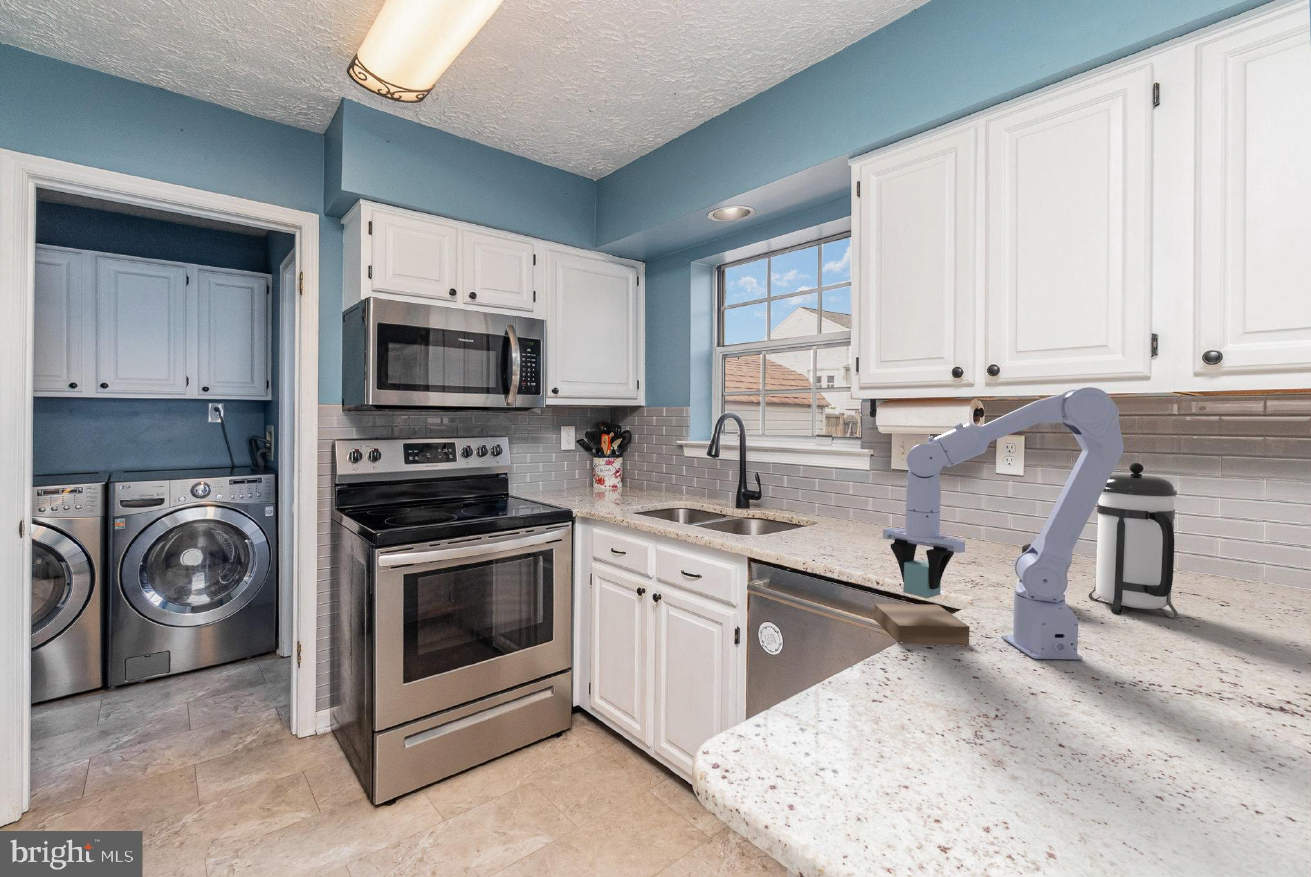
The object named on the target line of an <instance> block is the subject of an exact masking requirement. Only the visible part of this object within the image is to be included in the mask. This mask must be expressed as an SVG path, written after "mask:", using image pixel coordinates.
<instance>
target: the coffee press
mask: <svg viewBox="0 0 1311 877" xmlns="http://www.w3.org/2000/svg"><path fill="white" fill-rule="evenodd" d="M1128 468H1129V471H1130V472H1131V473H1130V474H1111V476H1110V478H1109V480H1108V482H1107V484H1106V486H1105V488H1104V490H1103V492H1102V494H1101V496H1100V498H1099V499H1098V502H1097V503H1096V512H1097V533H1096V535H1097V536H1096V554H1095V555H1096V556H1095V557H1096V558H1095V559H1096V562H1095V579H1094V580H1095V583H1094V588H1093V589H1092V591H1091V592H1089V594H1088V599H1089V600H1091V601H1095V600H1099V599H1102V600H1104V601H1106V602H1109V603H1111V609H1110V610H1111V614H1117V615H1122V613H1123V611H1124V609H1125V608H1126V607H1128V608H1134V609H1135V608H1136V609H1145V610H1158V611H1160V612H1161V613H1162V614H1164V615H1165V617H1167V618H1168V619H1174V618H1177V617H1178V616H1179V612H1178V611H1177V610H1176V608H1175V607H1174V605H1173V603H1172V587H1173V581H1174V567H1175V566H1174V564H1175V563H1174V562H1175V533H1174V532H1175V531H1174V530H1175V524H1174V520H1175V518H1176V509H1175V497H1177V495H1178V491H1177V489H1176V490H1175V487H1174V485H1173V483H1171V481H1170V480H1167V479H1166V478H1162V477H1159V476H1152V475H1143V474H1142V472H1143V471H1144V466H1143V464H1141V463H1140V462H1133V463H1131V464H1130V466H1129V467H1128ZM1094 593H1096V595H1097V596H1098V597H1096V598H1095V597H1094V596H1093V594H1094ZM1167 606H1168V607H1169V609H1170V610H1171V611H1172V613H1173V614H1174V615H1172V614H1170V613H1169V612H1168V611H1167V610H1166V609H1164V608H1165V607H1167Z"/></svg>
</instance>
